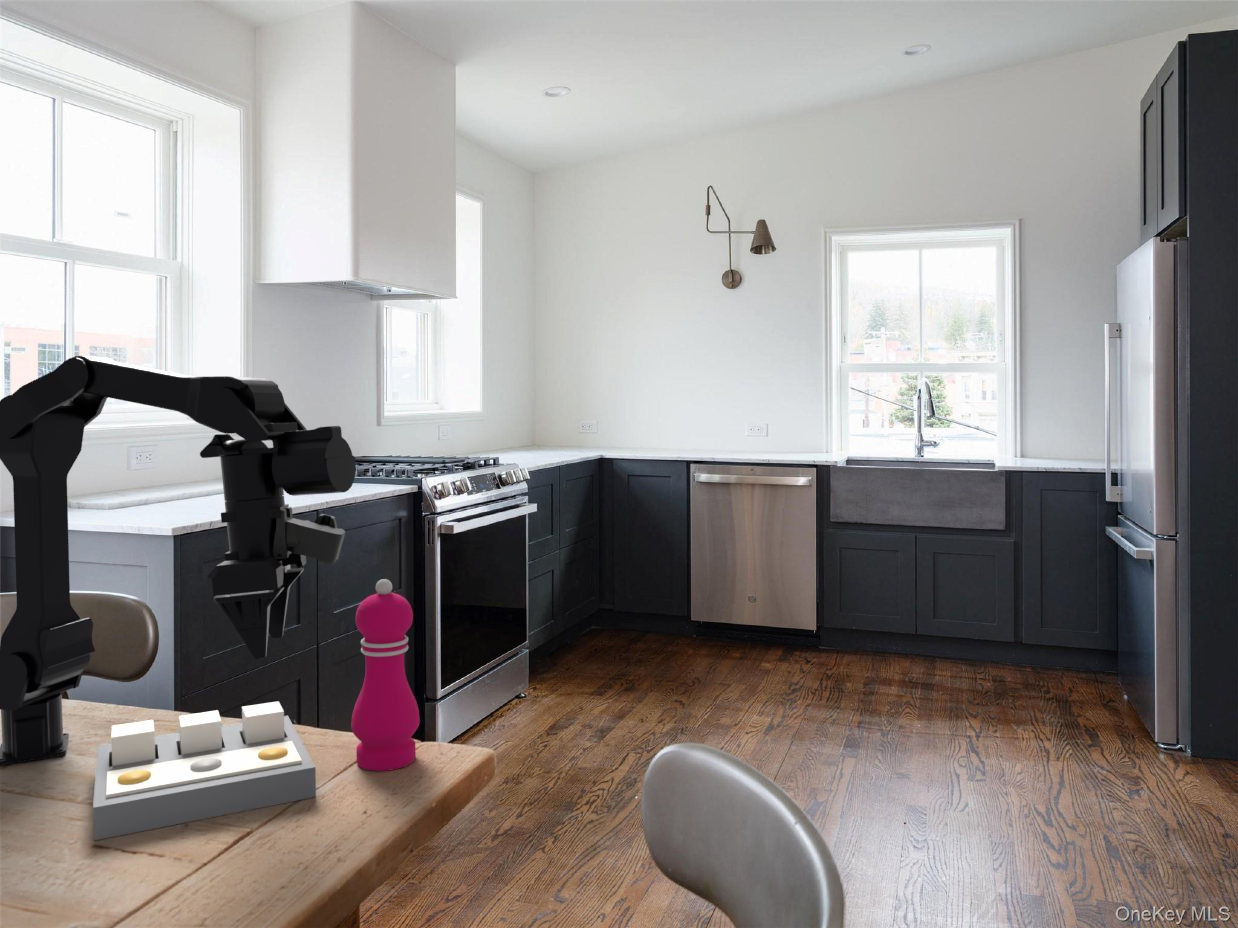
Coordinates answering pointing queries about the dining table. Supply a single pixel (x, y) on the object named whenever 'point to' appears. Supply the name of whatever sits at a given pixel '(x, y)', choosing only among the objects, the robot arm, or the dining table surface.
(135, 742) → the button
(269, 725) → the button
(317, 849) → the dining table surface
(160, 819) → the button panel
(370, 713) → the pepper mill
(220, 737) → the middle button
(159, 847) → the dining table surface
